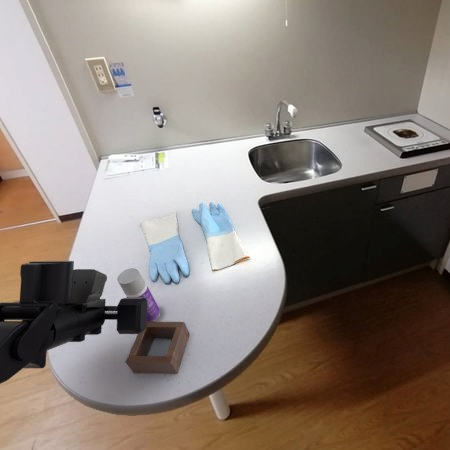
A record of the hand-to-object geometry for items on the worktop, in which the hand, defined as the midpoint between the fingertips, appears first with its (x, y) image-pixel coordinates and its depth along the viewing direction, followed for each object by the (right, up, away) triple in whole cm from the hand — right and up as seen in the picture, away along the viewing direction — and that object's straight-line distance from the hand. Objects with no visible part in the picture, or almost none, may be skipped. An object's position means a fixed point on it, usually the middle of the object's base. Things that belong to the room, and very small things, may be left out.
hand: (120, 306), depth 64 cm
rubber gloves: (+3, +12, +33) cm, 36 cm away
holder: (+7, -12, +5) cm, 14 cm away
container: (0, -6, +13) cm, 14 cm away
